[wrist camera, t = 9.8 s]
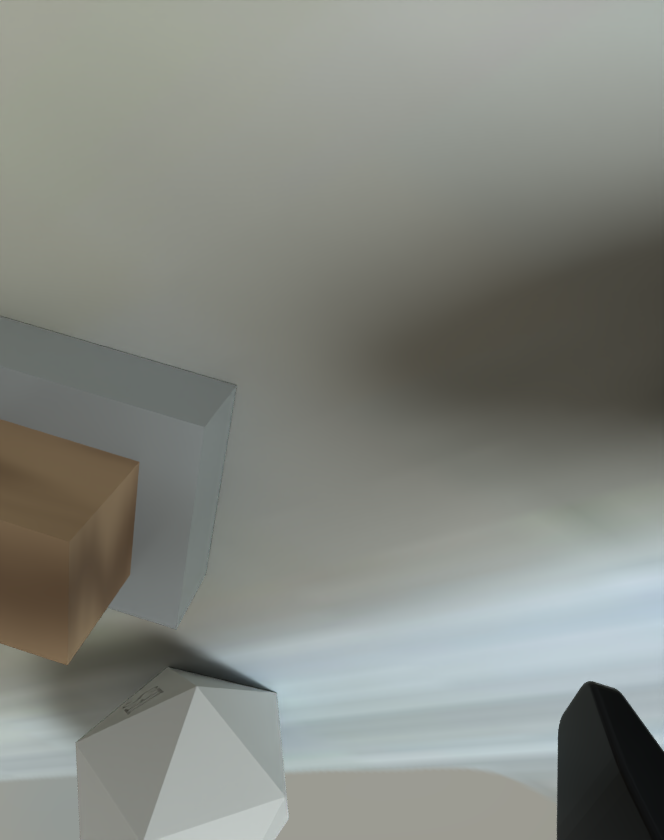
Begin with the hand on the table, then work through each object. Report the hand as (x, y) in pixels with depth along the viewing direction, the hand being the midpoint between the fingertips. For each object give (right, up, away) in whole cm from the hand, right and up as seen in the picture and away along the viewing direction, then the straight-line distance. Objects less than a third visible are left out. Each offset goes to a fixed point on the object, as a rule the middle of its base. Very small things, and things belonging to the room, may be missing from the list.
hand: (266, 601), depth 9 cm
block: (-8, 0, +12) cm, 15 cm away
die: (-4, -11, +21) cm, 24 cm away
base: (-8, +1, +15) cm, 17 cm away
